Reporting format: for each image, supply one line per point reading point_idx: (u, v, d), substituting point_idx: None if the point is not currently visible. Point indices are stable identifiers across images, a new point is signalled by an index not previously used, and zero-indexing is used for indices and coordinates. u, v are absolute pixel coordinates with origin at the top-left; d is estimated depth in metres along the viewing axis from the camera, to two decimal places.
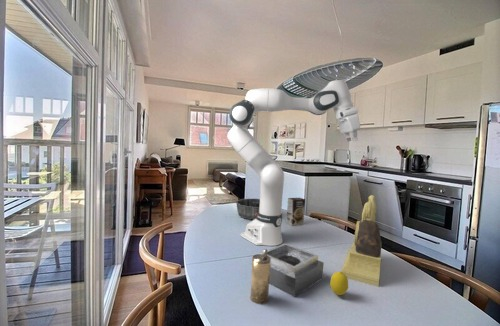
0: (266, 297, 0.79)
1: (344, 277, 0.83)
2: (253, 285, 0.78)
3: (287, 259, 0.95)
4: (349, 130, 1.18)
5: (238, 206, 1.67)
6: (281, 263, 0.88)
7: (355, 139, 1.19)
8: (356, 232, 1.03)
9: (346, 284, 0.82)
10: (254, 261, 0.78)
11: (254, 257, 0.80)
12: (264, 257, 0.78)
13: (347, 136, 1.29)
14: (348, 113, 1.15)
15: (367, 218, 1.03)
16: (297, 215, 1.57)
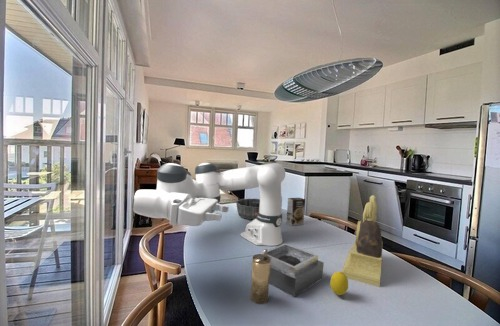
0: (266, 297, 0.79)
1: (344, 277, 0.83)
2: (253, 285, 0.78)
3: (287, 259, 0.95)
4: None
5: (238, 206, 1.67)
6: (281, 263, 0.88)
7: (218, 218, 0.75)
8: (357, 232, 1.02)
9: (346, 284, 0.82)
10: (254, 261, 0.78)
11: (254, 257, 0.80)
12: (264, 257, 0.78)
13: (220, 208, 0.86)
14: (173, 219, 0.73)
15: (368, 218, 1.03)
16: (297, 215, 1.57)
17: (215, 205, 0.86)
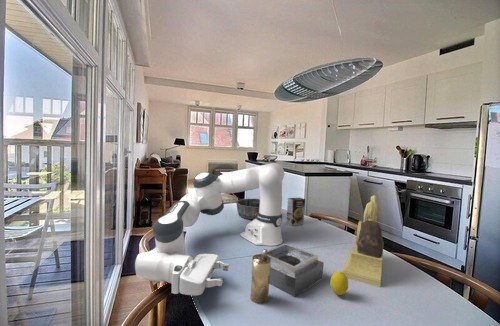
0: (266, 297, 0.79)
1: (344, 277, 0.83)
2: (253, 285, 0.78)
3: (287, 259, 0.95)
4: None
5: (238, 206, 1.67)
6: (281, 263, 0.88)
7: (219, 283, 0.76)
8: (358, 232, 1.02)
9: (346, 284, 0.82)
10: (254, 261, 0.78)
11: (254, 257, 0.80)
12: (264, 257, 0.78)
13: (221, 266, 0.87)
14: (175, 288, 0.75)
15: (369, 218, 1.02)
16: (297, 215, 1.57)
17: (216, 263, 0.87)
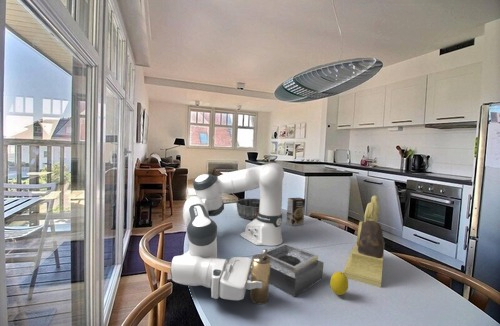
0: (266, 297, 0.79)
1: (344, 277, 0.83)
2: None
3: (287, 259, 0.95)
4: None
5: (238, 206, 1.67)
6: (281, 263, 0.88)
7: (259, 285, 0.76)
8: (358, 232, 1.02)
9: (346, 284, 0.82)
10: (254, 261, 0.78)
11: (254, 257, 0.80)
12: (264, 257, 0.78)
13: None
14: (215, 292, 0.73)
15: (370, 218, 1.02)
16: (297, 215, 1.57)
17: (250, 268, 0.85)
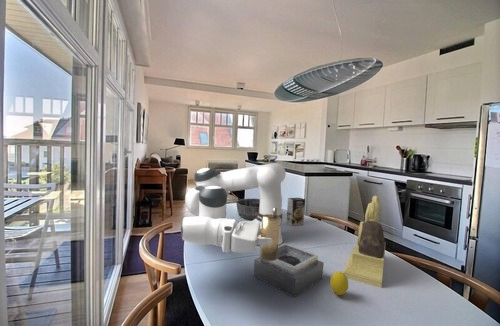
0: (275, 254, 0.80)
1: (344, 277, 0.83)
2: None
3: (287, 259, 0.95)
4: None
5: (238, 206, 1.67)
6: (281, 263, 0.88)
7: (270, 241, 0.78)
8: (359, 233, 1.02)
9: (346, 284, 0.82)
10: (264, 219, 0.80)
11: (264, 216, 0.81)
12: (274, 215, 0.80)
13: None
14: (226, 246, 0.74)
15: (370, 219, 1.02)
16: (297, 215, 1.57)
17: (259, 229, 0.86)
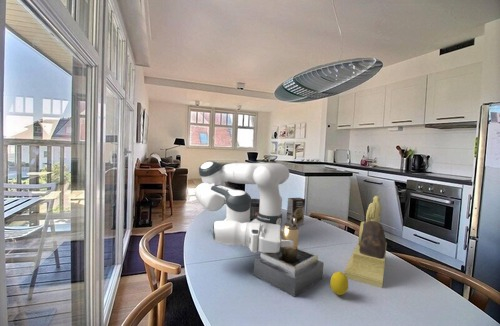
0: (295, 258, 0.93)
1: (344, 277, 0.83)
2: (285, 248, 0.92)
3: None
4: None
5: None
6: (281, 263, 0.88)
7: (291, 243, 0.89)
8: (360, 233, 1.02)
9: (346, 284, 0.82)
10: (285, 227, 0.92)
11: (285, 225, 0.94)
12: (294, 224, 0.92)
13: None
14: (254, 247, 0.87)
15: (371, 219, 1.02)
16: (297, 215, 1.57)
17: (280, 231, 0.99)
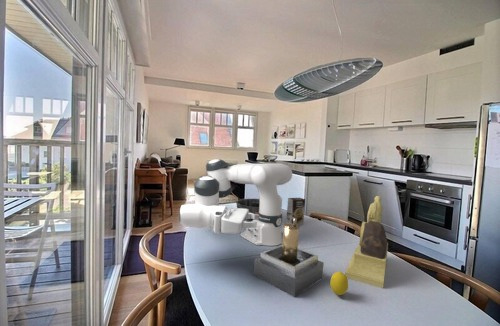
0: (295, 258, 0.93)
1: (344, 277, 0.83)
2: (285, 248, 0.92)
3: None
4: None
5: (238, 206, 1.67)
6: (281, 263, 0.88)
7: (254, 225, 0.89)
8: (361, 233, 1.02)
9: (346, 284, 0.82)
10: (286, 227, 0.92)
11: (285, 225, 0.94)
12: (294, 224, 0.92)
13: (252, 216, 1.00)
14: (217, 228, 0.88)
15: (372, 219, 1.02)
16: (297, 215, 1.57)
17: (247, 214, 1.00)
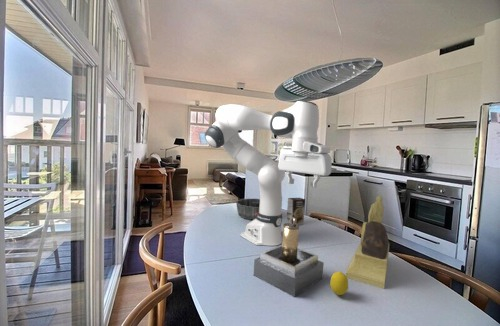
0: (295, 258, 0.93)
1: (344, 277, 0.83)
2: (285, 248, 0.92)
3: None
4: (314, 172, 0.87)
5: (238, 206, 1.67)
6: (281, 263, 0.88)
7: (315, 185, 0.89)
8: (362, 233, 1.02)
9: (346, 284, 0.82)
10: (285, 227, 0.92)
11: (285, 225, 0.94)
12: (294, 224, 0.92)
13: (290, 176, 0.96)
14: (324, 150, 0.85)
15: (374, 219, 1.01)
16: (297, 215, 1.57)
17: (291, 171, 0.96)
